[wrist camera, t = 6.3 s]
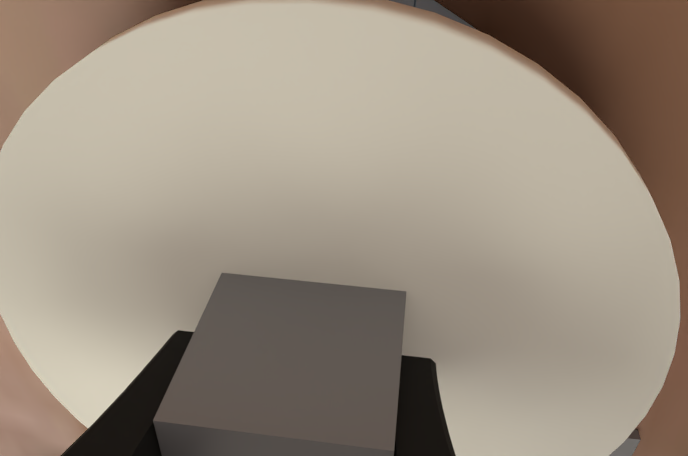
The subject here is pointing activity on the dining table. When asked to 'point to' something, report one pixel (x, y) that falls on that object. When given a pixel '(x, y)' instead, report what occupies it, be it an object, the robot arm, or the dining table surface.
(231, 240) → the lid
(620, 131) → the dining table surface
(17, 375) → the dining table surface
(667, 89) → the dining table surface
